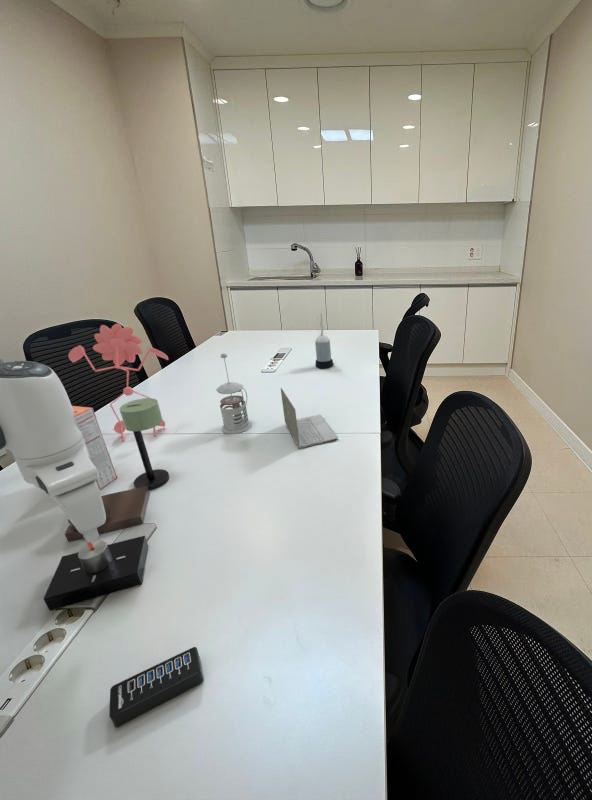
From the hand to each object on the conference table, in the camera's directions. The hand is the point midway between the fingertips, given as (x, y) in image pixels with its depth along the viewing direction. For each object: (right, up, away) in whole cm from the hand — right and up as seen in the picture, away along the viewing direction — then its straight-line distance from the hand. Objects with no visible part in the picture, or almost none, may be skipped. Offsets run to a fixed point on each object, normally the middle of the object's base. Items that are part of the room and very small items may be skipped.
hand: (82, 526), depth 68 cm
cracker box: (-23, +1, +33) cm, 40 cm away
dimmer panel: (+1, -11, +5) cm, 12 cm away
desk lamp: (-6, +1, +32) cm, 32 cm away
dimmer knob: (+1, -8, +3) cm, 9 cm away
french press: (+7, +14, +60) cm, 62 cm away
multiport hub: (+21, -18, -14) cm, 31 cm away
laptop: (+32, +12, +55) cm, 64 cm away
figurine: (-24, +12, +59) cm, 65 cm away
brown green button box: (-8, -4, +20) cm, 22 cm away
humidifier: (+29, +38, +114) cm, 123 cm away
